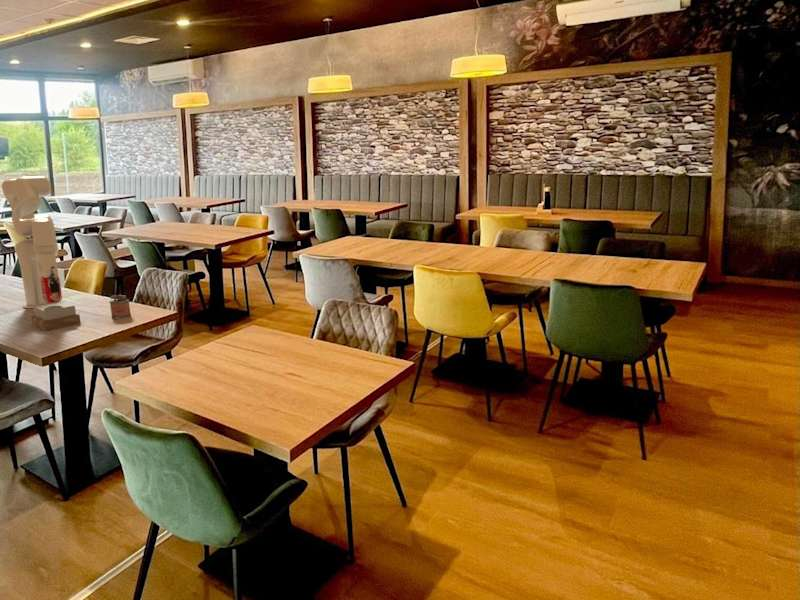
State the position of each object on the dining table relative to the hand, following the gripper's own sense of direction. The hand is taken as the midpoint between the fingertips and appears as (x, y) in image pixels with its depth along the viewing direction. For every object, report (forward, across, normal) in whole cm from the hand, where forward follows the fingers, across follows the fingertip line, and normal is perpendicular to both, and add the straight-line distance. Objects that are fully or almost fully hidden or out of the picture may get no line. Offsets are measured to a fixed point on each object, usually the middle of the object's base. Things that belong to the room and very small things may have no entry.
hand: (51, 290), depth 268 cm
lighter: (+15, +11, +23) cm, 30 cm away
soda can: (+5, 0, 0) cm, 5 cm away
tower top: (+11, 0, 0) cm, 11 cm away
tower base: (+15, 0, 0) cm, 15 cm away
